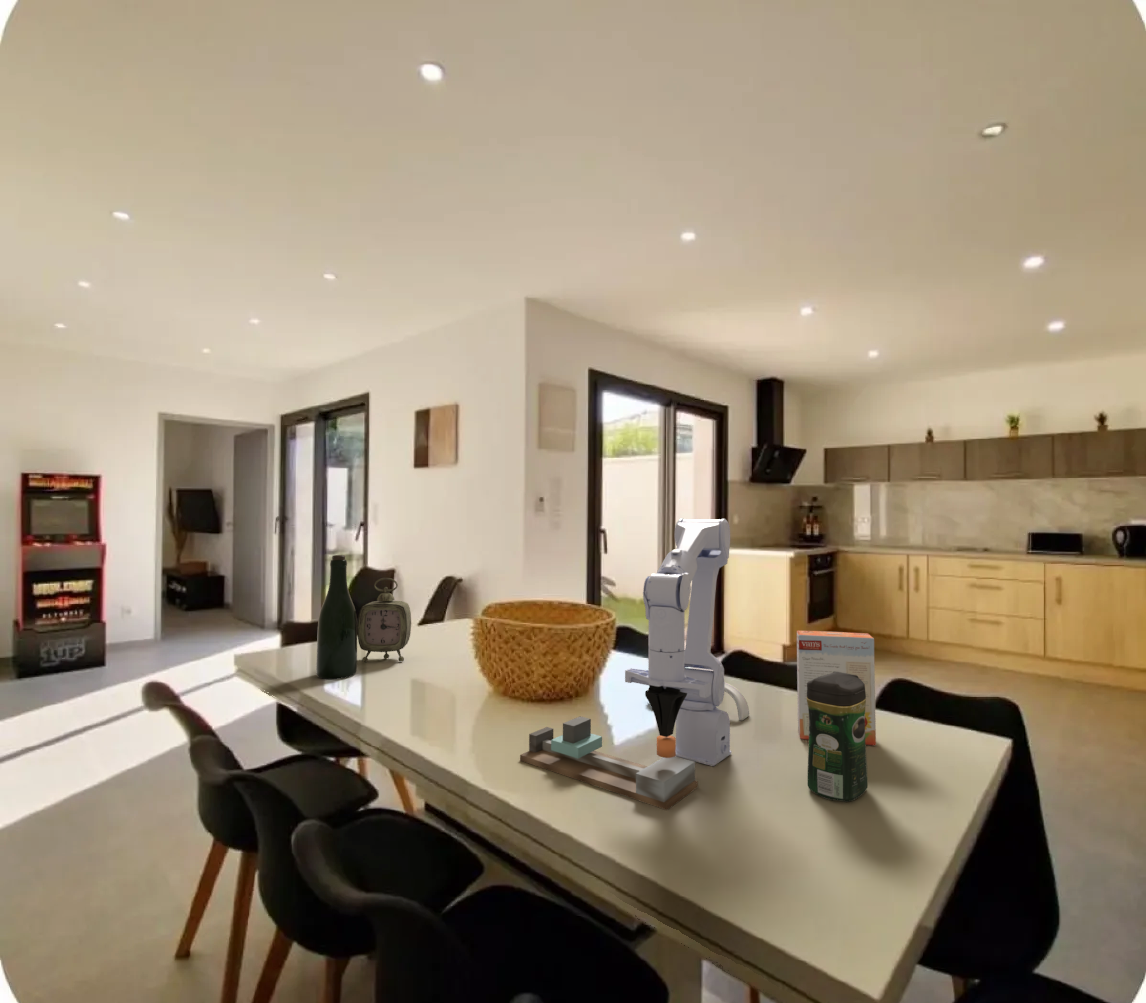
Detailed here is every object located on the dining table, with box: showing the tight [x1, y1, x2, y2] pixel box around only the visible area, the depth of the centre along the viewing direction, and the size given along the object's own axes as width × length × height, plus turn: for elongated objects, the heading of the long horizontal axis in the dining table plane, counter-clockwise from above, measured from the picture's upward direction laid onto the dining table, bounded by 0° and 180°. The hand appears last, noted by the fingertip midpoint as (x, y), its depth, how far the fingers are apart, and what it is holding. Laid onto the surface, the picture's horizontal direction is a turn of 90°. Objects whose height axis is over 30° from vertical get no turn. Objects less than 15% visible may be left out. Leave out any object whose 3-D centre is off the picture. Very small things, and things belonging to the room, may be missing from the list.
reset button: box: [656, 735, 677, 758], centre depth 98 cm, size 3×3×2 cm
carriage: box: [551, 716, 603, 758], centre depth 109 cm, size 6×7×5 cm
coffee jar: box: [807, 671, 869, 803], centre depth 100 cm, size 10×8×19 cm
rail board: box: [519, 726, 699, 811], centre depth 106 cm, size 30×10×4 cm, turn 52°
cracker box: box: [796, 630, 877, 746], centre depth 124 cm, size 14×6×21 cm, turn 74°
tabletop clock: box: [357, 577, 412, 663], centre depth 188 cm, size 14×9×25 cm, turn 95°
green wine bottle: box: [315, 554, 358, 680], centre depth 170 cm, size 10×10×33 cm
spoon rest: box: [647, 681, 750, 721], centre depth 142 cm, size 24×12×7 cm, turn 56°
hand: (666, 734), depth 98 cm, fingers closed
